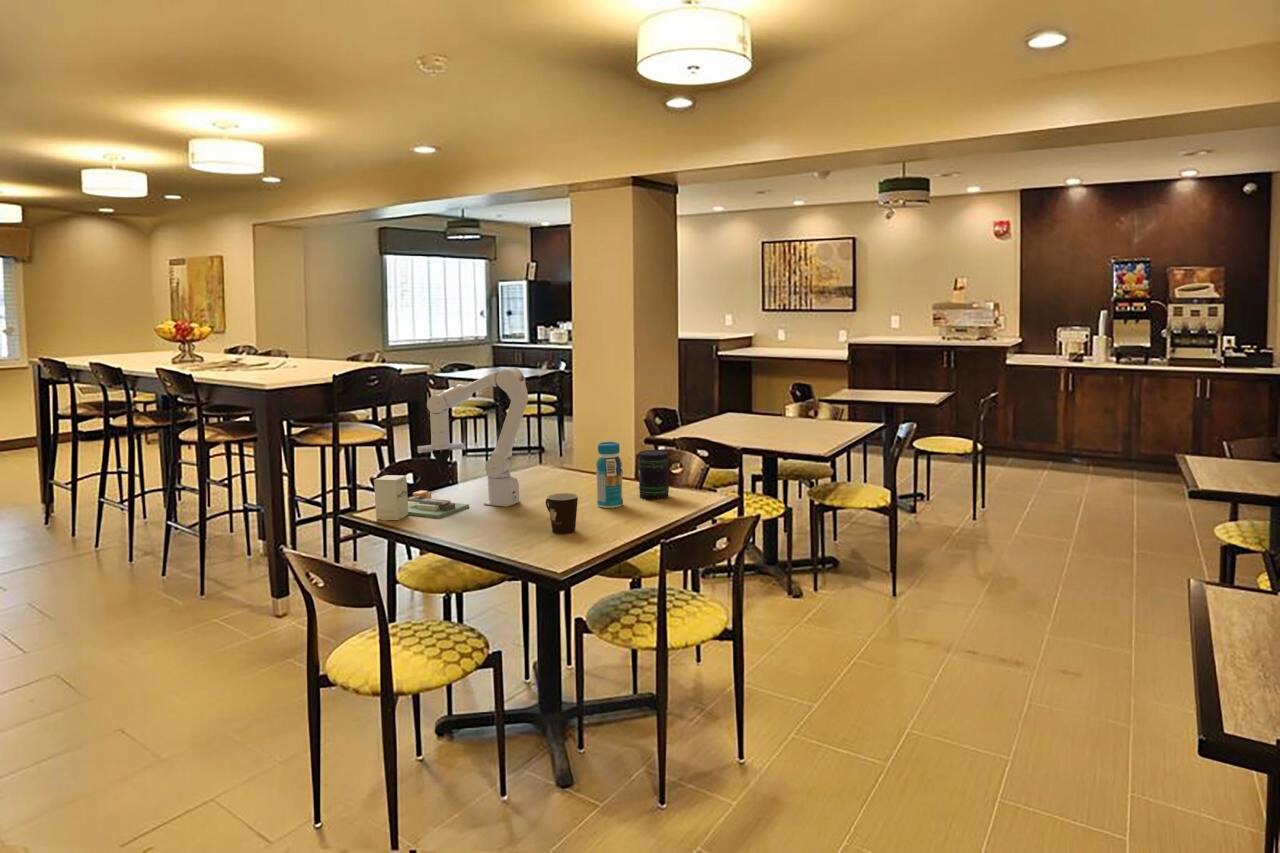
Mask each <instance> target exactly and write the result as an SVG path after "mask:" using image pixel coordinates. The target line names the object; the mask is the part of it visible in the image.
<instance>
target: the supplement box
mask: <svg viewBox="0 0 1280 853" xmlns="http://www.w3.org/2000/svg"><path fill="white" fill-rule="evenodd" d="M373 484H374V485H373V487H374V489H373V490H374V505H375V520H376V519H381V520H380V521H387V520H398V521H400V520H401V519H403V518H405V517H407V515H408V505H409V501H408V481H407V475H401V474H400V475H398V474H396V475H393V474H391V475H389V474H387V475H383V476H380V477H377V478H376V479H373ZM408 516H409V515H408Z"/></svg>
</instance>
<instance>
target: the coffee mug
mask: <svg viewBox="0 0 1280 853" xmlns="http://www.w3.org/2000/svg"><path fill="white" fill-rule="evenodd" d="M578 502H579V494H576V493H570V492H563V493H553V494H549V495H548V496H547V497H546V499H545V507H546V508H547V511H548V513H549V517H550V526H551V530H552V533H553V534H556V535H569V534H572V533H575V532H576V525H577V524H576V523H577V513H578V512H577V510H578Z"/></svg>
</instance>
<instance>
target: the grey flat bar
mask: <svg viewBox="0 0 1280 853" xmlns="http://www.w3.org/2000/svg"><path fill="white" fill-rule="evenodd" d="M408 502H410V503H411V502H412V503H416V502H419V503H428V504H437V505H445V504H448V503H452V501H451V500H448V499H446V500H445V499H438V498H431V499H430V498H421V497H419V496H412V497H409V498H408Z"/></svg>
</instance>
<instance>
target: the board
mask: <svg viewBox="0 0 1280 853" xmlns="http://www.w3.org/2000/svg"><path fill="white" fill-rule="evenodd" d="M468 507H469V508H470V504H469V503H460V502H451V503H448V504H445V505H437V504H428V503H419V502H412V503H410V504H408V516H413V515H415V516H414V517H422V516H425V517H424V518H431V517H436V518H435V519H441V518H444V517H446V516H445V515H447V516H449V514H450V515H452V514H455V513H457V511H458V512H460V510H461V511H463V509H464V510H465V508H466V509H469V508H468ZM443 516H444V517H443ZM440 517H441V518H440Z"/></svg>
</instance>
